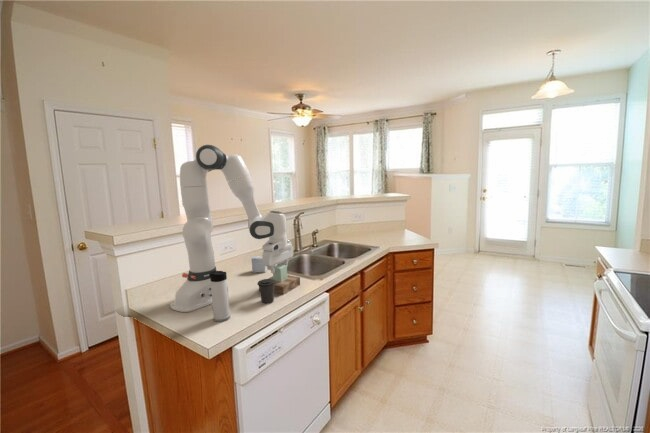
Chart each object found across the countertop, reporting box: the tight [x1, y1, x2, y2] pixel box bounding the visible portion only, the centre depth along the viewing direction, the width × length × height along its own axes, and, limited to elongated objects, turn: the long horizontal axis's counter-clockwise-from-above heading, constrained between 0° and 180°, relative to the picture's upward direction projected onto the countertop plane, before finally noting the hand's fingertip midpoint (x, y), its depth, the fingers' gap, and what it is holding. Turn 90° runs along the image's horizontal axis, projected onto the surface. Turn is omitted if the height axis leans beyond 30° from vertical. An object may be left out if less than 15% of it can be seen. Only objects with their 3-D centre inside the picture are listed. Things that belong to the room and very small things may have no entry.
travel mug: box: [209, 270, 231, 323], centre depth 120 cm, size 6×7×20 cm
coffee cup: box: [257, 278, 276, 305], centre depth 135 cm, size 8×8×10 cm
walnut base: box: [267, 274, 301, 296], centre depth 152 cm, size 14×14×4 cm
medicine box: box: [251, 255, 268, 273], centre depth 177 cm, size 8×4×9 cm, turn 84°
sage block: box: [272, 264, 288, 282], centre depth 151 cm, size 5×5×7 cm
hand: (279, 270), depth 151 cm, fingers open, 8 cm apart
